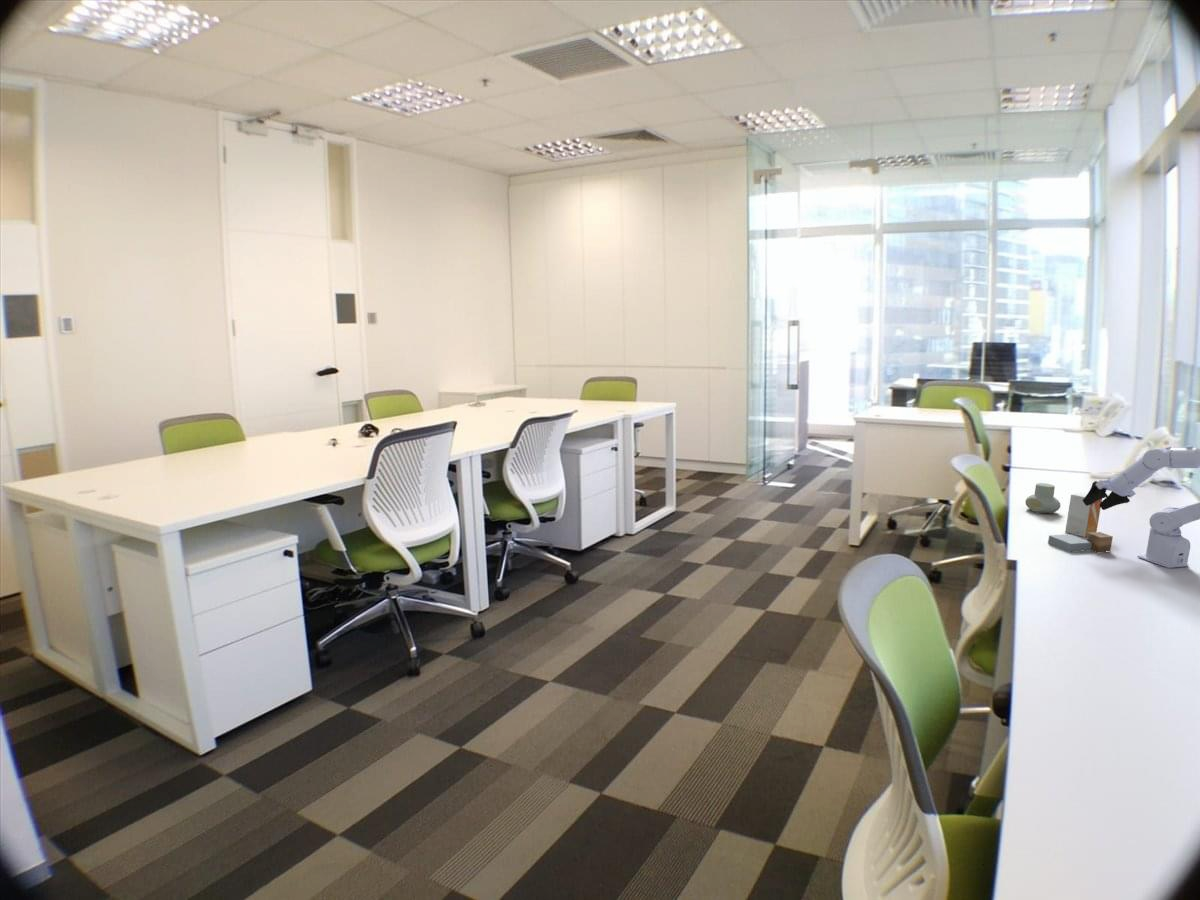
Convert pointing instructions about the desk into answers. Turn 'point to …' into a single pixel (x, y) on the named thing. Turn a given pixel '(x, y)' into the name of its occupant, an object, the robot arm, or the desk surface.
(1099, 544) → the walnut block
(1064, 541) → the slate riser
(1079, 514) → the small box
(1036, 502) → the air freshener
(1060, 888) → the desk surface
